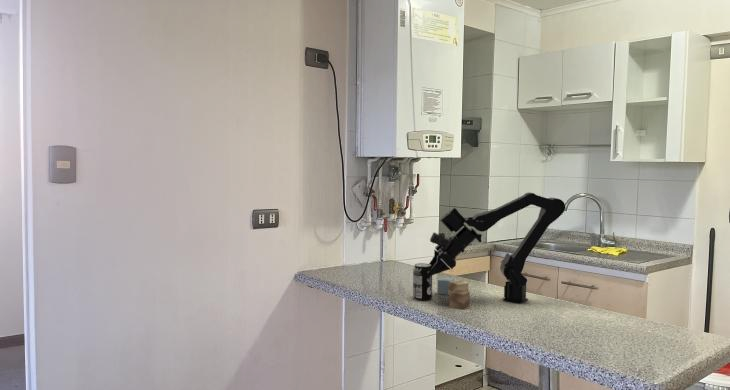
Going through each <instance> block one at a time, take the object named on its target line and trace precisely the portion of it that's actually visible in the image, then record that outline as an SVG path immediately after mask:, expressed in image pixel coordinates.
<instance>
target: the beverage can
mask: <svg viewBox="0 0 730 390" xmlns="http://www.w3.org/2000/svg"><path fill="white" fill-rule="evenodd" d="M430 270H431V264H429V263H424V262H423V263H421V262H419V263H415V264H414V267H413V269H412V271H413V272H412V275H413V276H412V290H413V291H412V297H413V298H414V300H416V301H422V302H424V301H430V300H431V299H432V298H433V275H432V276H429V275H428V272H429V271H430Z"/></svg>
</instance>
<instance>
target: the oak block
mask: <svg viewBox="0 0 730 390" xmlns="http://www.w3.org/2000/svg"><path fill="white" fill-rule="evenodd" d="M469 286H470V285H469V282H466V281H464V280H457V279H456V280H454V281H451V282H448V296H449V295H450V292H451V291H453V290H455V289H456V290H463V291H469Z"/></svg>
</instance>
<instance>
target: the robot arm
mask: <svg viewBox="0 0 730 390" xmlns="http://www.w3.org/2000/svg"><path fill="white" fill-rule="evenodd" d="M531 205H532V206H535V207H537V208H540V209H539V213H538V217H537V219H536V220H535V221H534V222H533V224H532V226H531V228H530V229H529V231H528V232H527V233H526V235H525V236H524V238H523V239H522V240H521V242H520V244H519V245H518V247H517V248H516V249H515V250H514V252H513V253H512V254H509V253H506V254H505V256H504V258H503V259H502V260H501V261H500V267H499V269H500V273H501V274H502V275H503V276H504V278H506V281H505V284H504V286H503V289H504V290H503V298H502V301H506V302H512V303H517V304H522V303H525V302H527V301H528V300H529V298H528V297H527V283H528V279H527V277H525V276H524V275H523V274H522V272H523V269H524V266H525V263H526V260H527V258H528V257H529V255H530V254H531V253H532V251H533V250H534V248H535V247H536V245H537V244H538V243H539V241H540V239H541V238H542V237H543V235H544V234H545V232H546V230H547V229H548V228H549V226H550V225H551V224H553V223H554V222H555V221H556V220H558V219H559V218H560V217H561V216H562V215H563V214H564V213H565V210H566V204H565V202H564V201H563V200H562V199H560V198H556V197H548V198H546V197H545V196H541V195H538V194H536V193H533V192H529V191H528V192H526V193H524V194H522V195H521V196H518V197H517V198H514V199H512V200H511V201H509V202H508V201H507V203H505V204H503V205H500V206H498V207H496V208H494V209H489V210H486V211H482V212H478V213H476V214H475V215H473V216H472V217H471V216H470V217H464V216H462V214H461V213H460V212H459V210H458V209H457V208H456V207H453V208H452V209H450V210H449V211H448V212H446V213H444V215H443V216H442V217H441V218H440V219H439V222H441V223H442V224H443V226H445V227H446V229H448V230H449V231H450V233H452V232H455V233H456V234H455V235H453V236H450V237H448V238H447V237H445V235H444V234H443V233H439V234H438V233H436V232H432V234H431V236H430V239H429V241H430V242H431V243H432V244H435V245H436V246H435V249H434V250H433V251H434V252H433V253H434V254H433V257H432V259H431V260H430V261H429V263H428V264H431V270H430V271H429V272H428V275H429V276H432V277H433V276H435V275H437V274H440V273H443V272H445V271H449V270H453V269H454V268H455V267H456V266H457V261H456V260H457V257H458V256H459V255H460V254H461V253H464V252H465V249H467V248H468V247H469V246H471V245H470V244H472V243H473V242H474V241H475V240H477V242H479V243H482V236H483V235H482V233H483V232H486V231H488V230H489V229H490V228H492V227H494V226H495V225H496V224H497V223H499V221H501V220H502V219H504V218H506V217H509V216H512V214H515V213H517V212H519V211H521V210H523V209H525V208H527V207H530V206H531ZM468 227H471V228H468ZM477 231H478V232H480V233H477ZM481 232H482V233H481Z"/></svg>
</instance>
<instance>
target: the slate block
mask: <svg viewBox="0 0 730 390" xmlns="http://www.w3.org/2000/svg"><path fill="white" fill-rule="evenodd" d="M451 281H455V280H454V278H451V277H439V279H437V294H438V295H448V282H451ZM448 296H449V295H448Z"/></svg>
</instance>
